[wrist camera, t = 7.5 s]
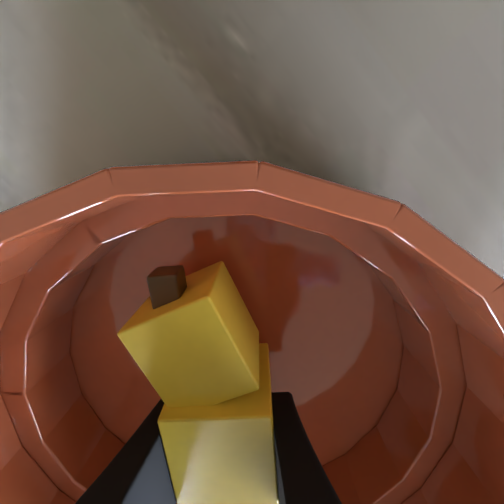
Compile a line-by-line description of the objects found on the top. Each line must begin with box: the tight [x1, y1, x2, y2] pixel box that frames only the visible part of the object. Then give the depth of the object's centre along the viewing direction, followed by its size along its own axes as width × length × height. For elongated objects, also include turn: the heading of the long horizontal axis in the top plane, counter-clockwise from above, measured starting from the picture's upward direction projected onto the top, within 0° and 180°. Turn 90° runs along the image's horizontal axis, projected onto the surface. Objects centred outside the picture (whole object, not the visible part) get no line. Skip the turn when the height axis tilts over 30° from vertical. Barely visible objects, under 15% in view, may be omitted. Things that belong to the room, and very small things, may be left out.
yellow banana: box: [117, 261, 279, 504], centre depth 9 cm, size 10×4×3 cm, turn 4°
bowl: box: [0, 160, 504, 504], centre depth 9 cm, size 16×16×5 cm
